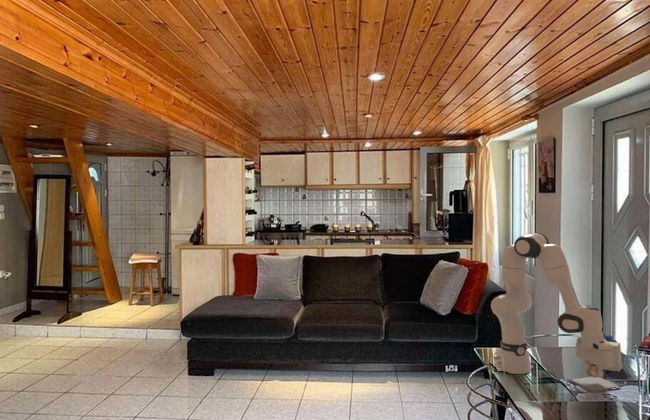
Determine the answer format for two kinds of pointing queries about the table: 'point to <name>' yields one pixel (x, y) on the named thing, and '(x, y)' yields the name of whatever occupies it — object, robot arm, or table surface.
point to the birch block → (593, 370)
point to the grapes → (609, 338)
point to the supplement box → (616, 357)
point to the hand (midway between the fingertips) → (594, 372)
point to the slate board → (594, 383)
